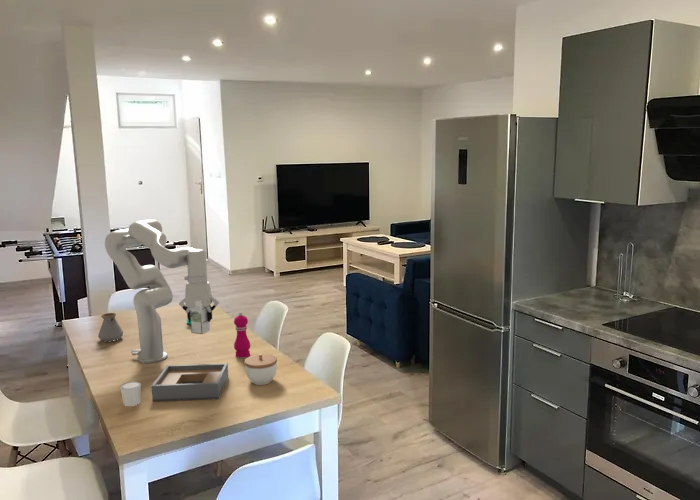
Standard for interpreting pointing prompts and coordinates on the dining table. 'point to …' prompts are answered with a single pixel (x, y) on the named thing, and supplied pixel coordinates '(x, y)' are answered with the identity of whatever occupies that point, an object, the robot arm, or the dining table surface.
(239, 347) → the pepper mill
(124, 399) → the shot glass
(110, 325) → the coffee pot
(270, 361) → the lidded bowl
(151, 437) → the dining table surface
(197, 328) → the syrup box
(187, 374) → the gray open box
